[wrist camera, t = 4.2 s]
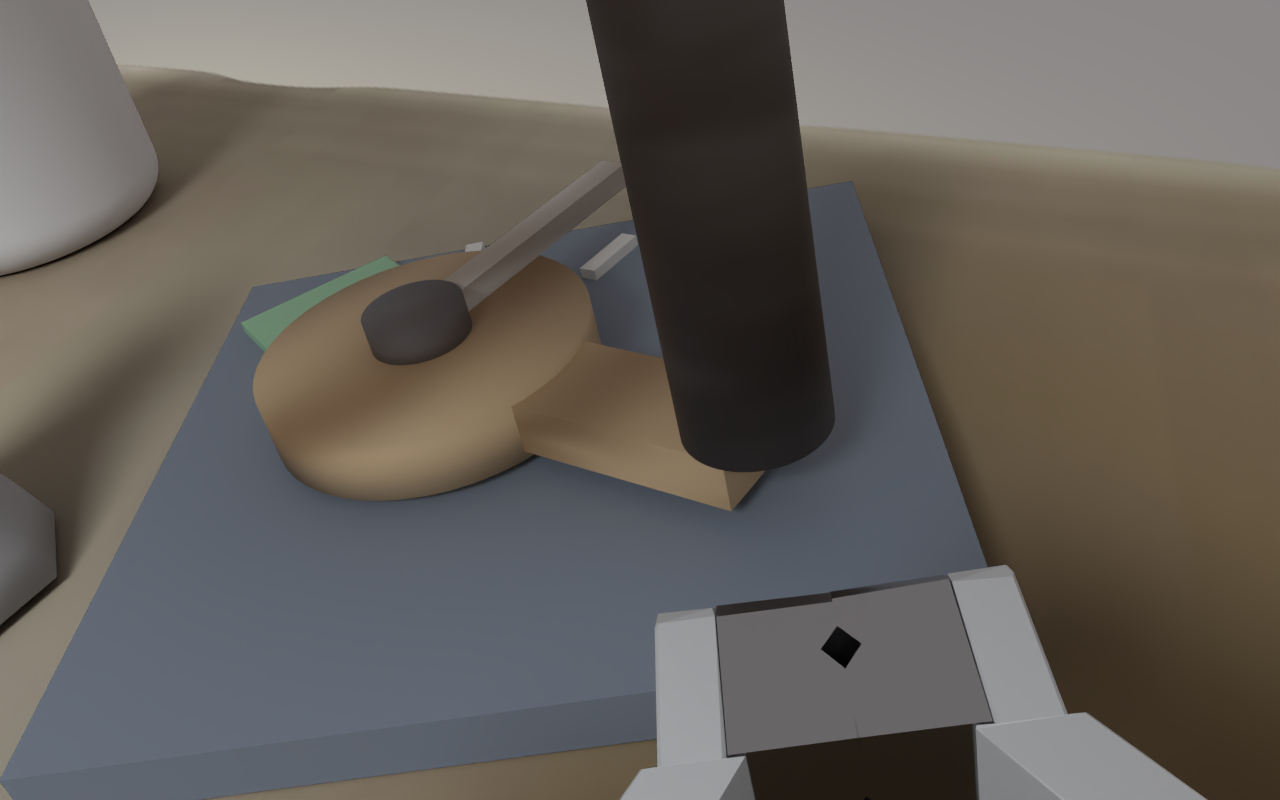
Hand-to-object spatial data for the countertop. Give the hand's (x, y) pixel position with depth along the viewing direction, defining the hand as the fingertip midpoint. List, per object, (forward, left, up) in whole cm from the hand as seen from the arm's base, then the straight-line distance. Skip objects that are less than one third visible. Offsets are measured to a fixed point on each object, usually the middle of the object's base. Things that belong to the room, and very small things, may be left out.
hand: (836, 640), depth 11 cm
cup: (-27, +36, -9) cm, 46 cm away
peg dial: (-4, +17, -7) cm, 19 cm away
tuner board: (-6, +16, -9) cm, 19 cm away
